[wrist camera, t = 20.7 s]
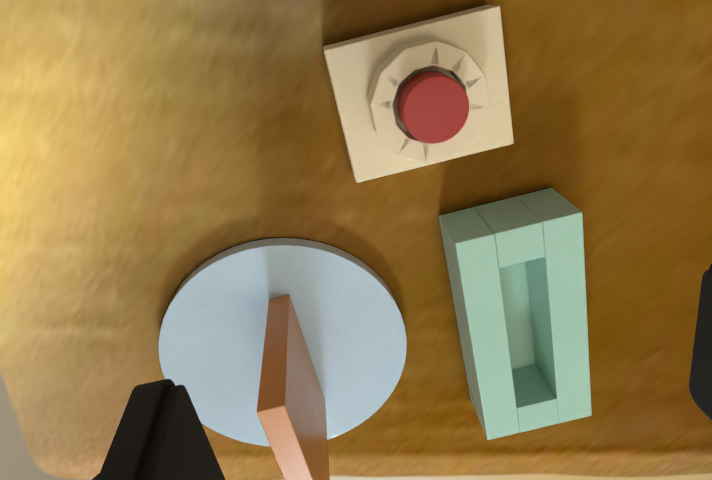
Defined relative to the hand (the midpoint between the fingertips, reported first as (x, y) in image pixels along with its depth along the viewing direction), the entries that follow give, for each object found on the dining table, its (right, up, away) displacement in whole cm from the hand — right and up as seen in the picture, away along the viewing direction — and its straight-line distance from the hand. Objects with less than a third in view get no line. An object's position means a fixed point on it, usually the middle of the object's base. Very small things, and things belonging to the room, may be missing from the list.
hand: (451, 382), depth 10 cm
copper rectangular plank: (-6, -6, +30) cm, 31 cm away
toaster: (+10, -2, +31) cm, 32 cm away
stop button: (+2, +10, +20) cm, 23 cm away
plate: (-7, -5, +31) cm, 32 cm away
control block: (+2, +12, +24) cm, 26 cm away
